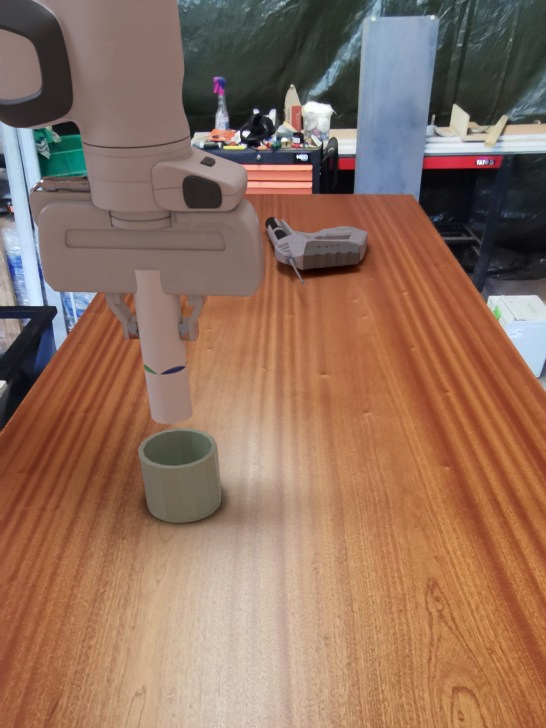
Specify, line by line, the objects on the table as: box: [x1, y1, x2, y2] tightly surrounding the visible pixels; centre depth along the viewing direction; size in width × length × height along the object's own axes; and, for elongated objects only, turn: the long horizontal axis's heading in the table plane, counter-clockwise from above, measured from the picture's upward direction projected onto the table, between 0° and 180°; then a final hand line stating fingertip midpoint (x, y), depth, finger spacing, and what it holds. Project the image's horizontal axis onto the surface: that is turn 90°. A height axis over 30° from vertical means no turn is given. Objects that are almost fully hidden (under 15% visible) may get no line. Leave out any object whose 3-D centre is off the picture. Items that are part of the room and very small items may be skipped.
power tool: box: [264, 216, 369, 287], centre depth 142 cm, size 45×5×20 cm
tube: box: [132, 270, 193, 425], centre depth 72 cm, size 4×4×15 cm
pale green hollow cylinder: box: [137, 427, 222, 524], centre depth 82 cm, size 8×8×7 cm
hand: (162, 338), depth 71 cm, fingers closed on tube, 4 cm apart
